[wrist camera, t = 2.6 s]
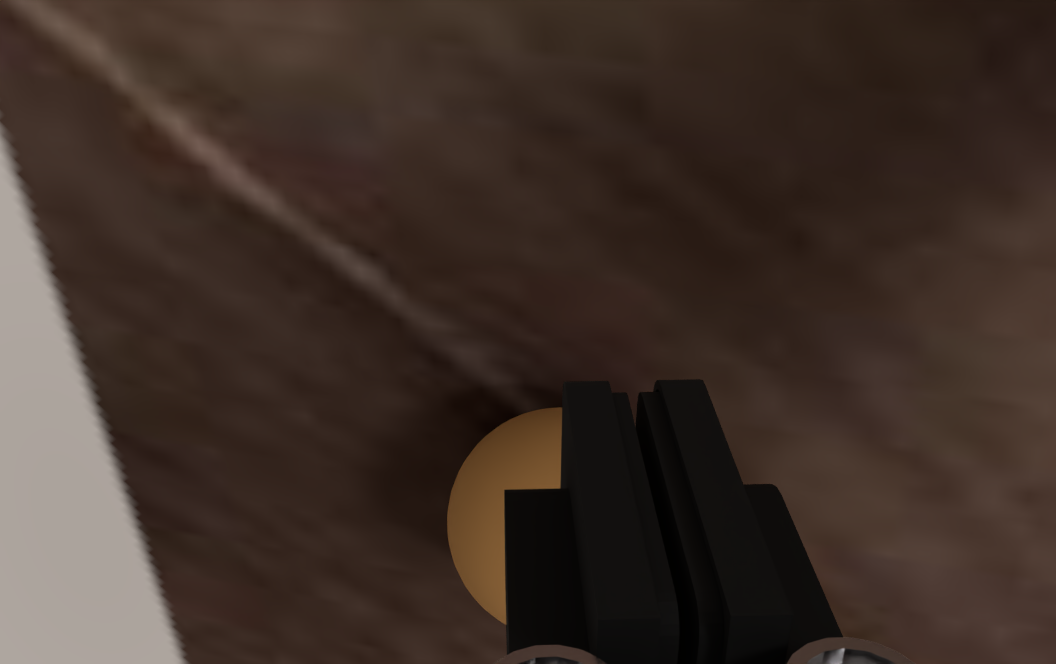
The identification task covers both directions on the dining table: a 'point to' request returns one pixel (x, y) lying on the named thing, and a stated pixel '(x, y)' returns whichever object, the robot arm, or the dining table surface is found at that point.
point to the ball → (499, 498)
